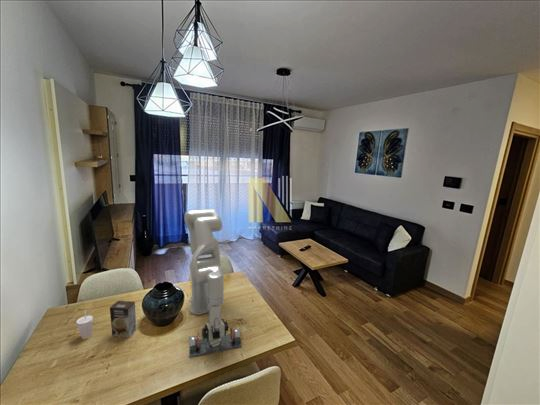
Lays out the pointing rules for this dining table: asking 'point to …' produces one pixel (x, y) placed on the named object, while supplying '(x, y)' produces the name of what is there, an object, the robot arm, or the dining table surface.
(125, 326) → the coffee box
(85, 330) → the smoothie
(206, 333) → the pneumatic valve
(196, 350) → the grey bracket
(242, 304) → the dining table surface
